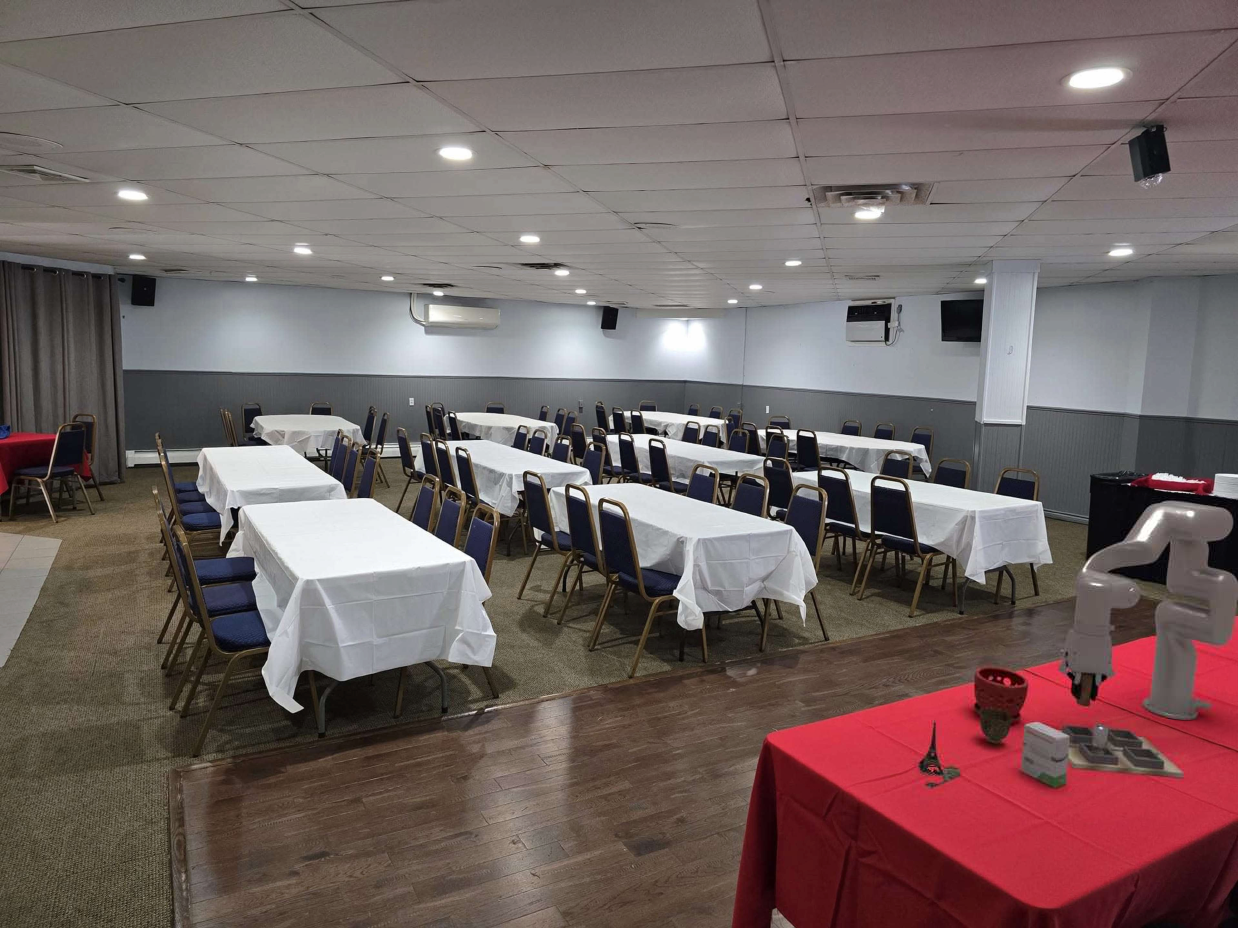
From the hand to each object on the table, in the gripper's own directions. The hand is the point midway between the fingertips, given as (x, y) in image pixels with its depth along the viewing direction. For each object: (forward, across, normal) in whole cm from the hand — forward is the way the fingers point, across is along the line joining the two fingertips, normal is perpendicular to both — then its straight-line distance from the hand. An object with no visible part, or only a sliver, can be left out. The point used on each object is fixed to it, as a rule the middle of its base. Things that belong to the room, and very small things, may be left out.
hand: (1083, 697), depth 198 cm
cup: (+13, +22, +4) cm, 25 cm away
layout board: (+12, -5, +5) cm, 14 cm away
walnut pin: (+2, 0, 0) cm, 2 cm away
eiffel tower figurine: (+14, +41, +21) cm, 48 cm away
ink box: (+13, +16, +20) cm, 28 cm away
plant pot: (+13, +16, -12) cm, 24 cm away
